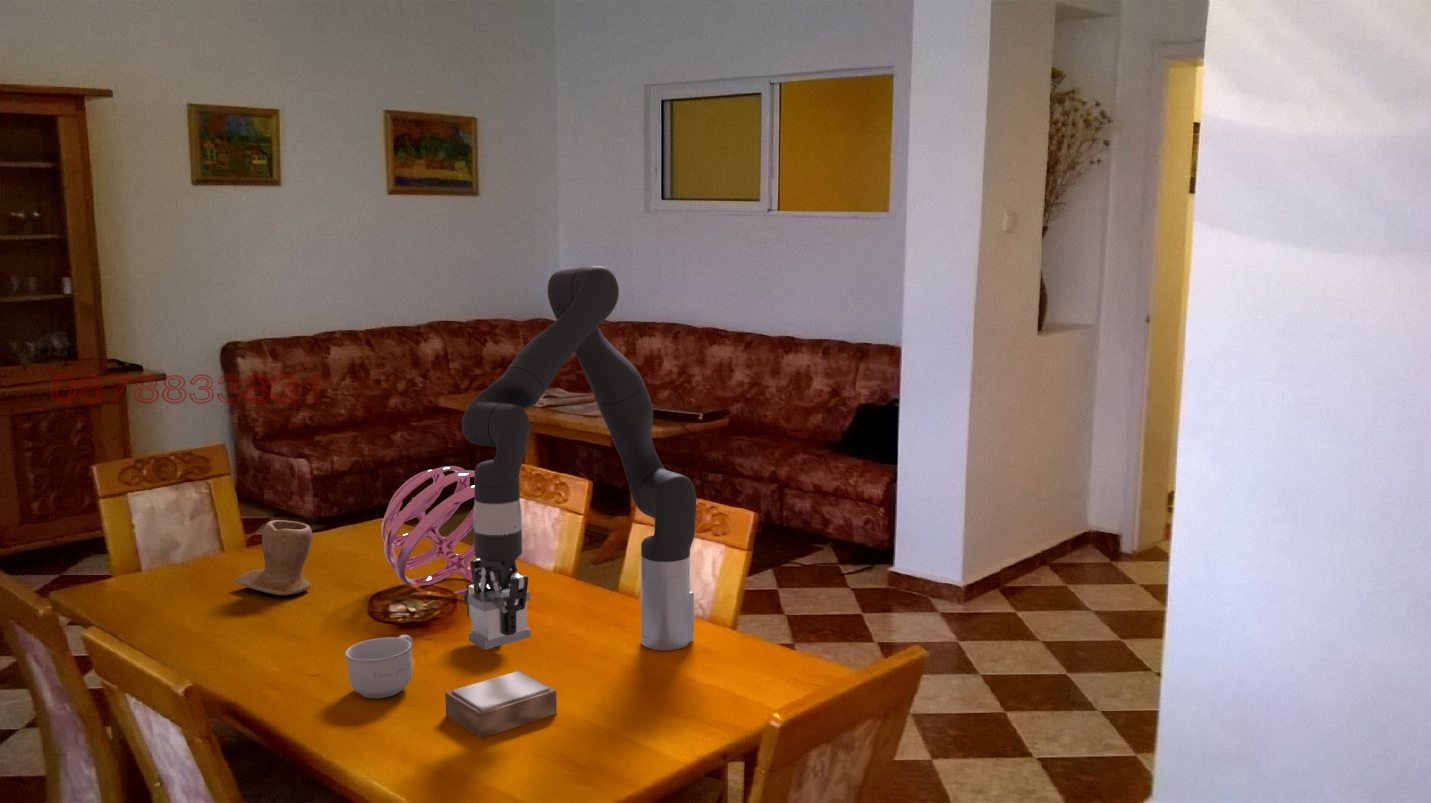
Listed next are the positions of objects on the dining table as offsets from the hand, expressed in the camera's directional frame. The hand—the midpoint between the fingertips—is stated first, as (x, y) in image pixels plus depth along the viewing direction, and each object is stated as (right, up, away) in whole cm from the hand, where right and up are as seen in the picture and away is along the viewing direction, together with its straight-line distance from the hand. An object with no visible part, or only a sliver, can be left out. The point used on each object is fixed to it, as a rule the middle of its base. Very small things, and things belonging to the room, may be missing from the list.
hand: (499, 628), depth 188 cm
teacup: (-21, -13, +12) cm, 28 cm away
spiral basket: (-24, -4, +67) cm, 71 cm away
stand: (0, -14, +2) cm, 15 cm away
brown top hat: (-59, -4, +64) cm, 87 cm away
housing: (0, -2, 0) cm, 2 cm away
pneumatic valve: (-8, -9, +34) cm, 36 cm away
